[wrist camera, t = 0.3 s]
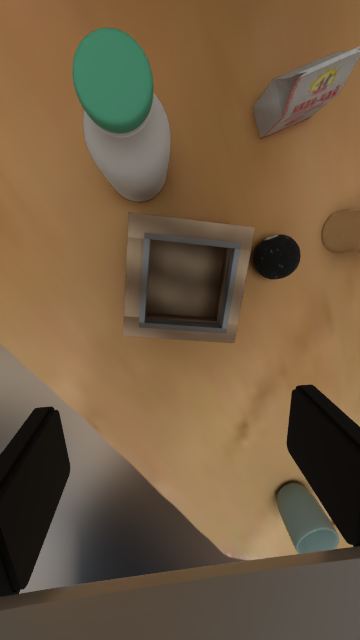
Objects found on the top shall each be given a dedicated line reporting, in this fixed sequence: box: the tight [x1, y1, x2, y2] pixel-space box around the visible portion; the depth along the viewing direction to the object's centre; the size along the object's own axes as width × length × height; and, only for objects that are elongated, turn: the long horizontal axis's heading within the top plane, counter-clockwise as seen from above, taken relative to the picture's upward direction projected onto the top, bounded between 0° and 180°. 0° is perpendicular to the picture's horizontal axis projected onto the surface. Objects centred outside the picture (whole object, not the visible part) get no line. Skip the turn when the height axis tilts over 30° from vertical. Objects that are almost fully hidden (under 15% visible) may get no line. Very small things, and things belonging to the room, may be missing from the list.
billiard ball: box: [254, 235, 300, 279], centre depth 35 cm, size 6×6×6 cm
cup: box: [277, 483, 339, 554], centre depth 49 cm, size 8×8×10 cm
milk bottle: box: [73, 28, 170, 202], centre depth 24 cm, size 8×8×20 cm
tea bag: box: [253, 47, 360, 139], centre depth 28 cm, size 4×7×10 cm, turn 112°
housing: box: [123, 212, 255, 343], centre depth 33 cm, size 14×14×11 cm
